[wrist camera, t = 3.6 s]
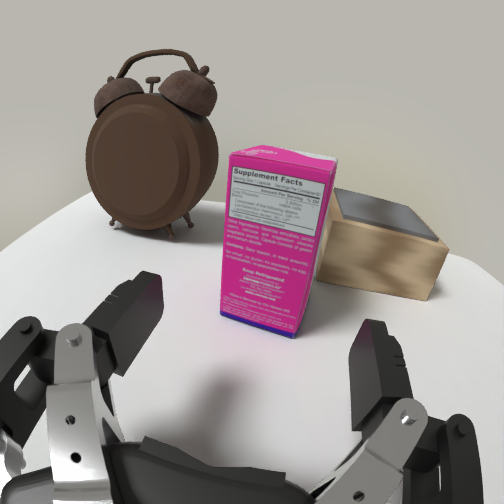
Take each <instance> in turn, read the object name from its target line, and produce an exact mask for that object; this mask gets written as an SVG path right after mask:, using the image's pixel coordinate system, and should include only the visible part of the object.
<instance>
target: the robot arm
mask: <svg viewBox="0 0 504 504" xmlns="http://www.w3.org/2000/svg"><path fill="white" fill-rule="evenodd" d="M163 310H164V301H163V289H162V278H161V276H160V275H158V274H154V273H150V272H146V271H141V272H140V273H139V274H138V275H137V276H136V277H135V278H134V279H133V281H132V280H128V281H126V282H124V283H122V284H120V285H118V286H117V287H116V288H115V289H114V290H113V291H112V292H111V295H108V297H107V298H106V299H105V301H103V302H102V303H101V304H100V305H99V306H98V307H97V308H96V309H95V310H94V311H93V313H92V314H91V315H90V316H89V317H88V318H87V319H86V320H85V321H84V322H83V323H82V324H79V323H74V324H70V325H67V326H65V327H63V328H62V329H61V330H60V331H53V330H47V329H43V327H42V325H41V322H40V321H39V319H37V318H36V317H32V316H28V317H24V318H21V319H20V320H18V321H17V322H16V323H15V324H14V325H13V326H12V327H11V328H10V329H9V331H8V332H7V333H6V334H5V335H4V336H3V337H2V338H1V340H0V504H385V503H386V501H387V500H388V499H389V497H390V496H391V495H392V493H393V492H394V490H395V489H396V487H397V486H398V484H399V483H400V481H401V480H402V478H403V500H402V504H484V500H483V484H482V473H481V465H480V457H479V451H478V445H477V439H476V434H475V429H474V425H473V423H472V422H471V420H470V419H469V418H468V417H466V416H465V415H463V414H455V415H453V416H451V417H450V418H449V419H448V420H447V421H443V420H440V419H437V418H433V417H430V416H428V415H427V411H426V409H425V408H424V406H423V405H422V404H421V403H420V402H418V401H417V400H414V398H413V394H412V389H411V385H410V380H409V376H408V372H407V368H406V367H405V366H406V364H405V360H404V359H403V357H404V356H403V353H402V349H401V346H400V344H399V343H398V341H397V340H396V339H395V337H394V336H390V335H388V331H387V327H386V324H385V322H384V321H378V320H372V319H365V320H364V322H363V324H362V326H361V328H360V330H359V332H358V334H357V336H356V338H355V340H354V342H353V344H352V346H351V349H350V352H349V375H350V392H351V418H352V431H362V438H361V439H360V440H359V441H358V443H357V444H356V445H355V446H354V447H353V449H352V450H351V451H350V452H349V453H348V454H347V455H346V457H345V458H344V459H343V460H342V461H341V462H340V463H339V464H338V465H337V466H336V467H335V469H334V470H333V471H332V472H331V473H330V474H329V475H328V476H326V477H325V478H324V479H323V480H322V481H321V482H320V483H318V484H317V485H316V486H315V487H314V488H313V489H312V490H311V491H310V492H306V491H305V490H304V489H302V488H301V487H299V486H298V485H296V484H294V483H292V482H290V481H287V480H285V476H286V473H285V472H277V471H270V470H264V469H258V468H253V467H212V466H209V465H206V464H205V463H203V462H201V461H199V460H197V459H195V458H194V457H192V456H190V455H188V454H187V453H185V452H183V451H182V450H180V449H178V448H176V447H173V446H170V445H167V444H165V443H162V442H159V441H157V440H154V439H152V438H149V437H147V436H145V437H144V439H143V441H142V443H141V442H125V439H124V436H123V433H122V431H121V428H120V426H119V423H118V419H117V414H116V410H115V405H114V399H113V394H112V388H111V382H110V379H109V378H110V377H111V375H112V374H113V373H115V374H118V375H120V376H122V377H123V376H124V374H125V373H126V371H127V370H128V368H129V367H130V365H131V363H132V362H133V360H134V359H135V357H136V356H137V354H138V353H139V351H140V349H141V348H142V346H143V345H144V343H145V342H146V340H147V339H148V337H149V336H150V334H151V333H152V331H153V330H154V328H155V327H156V325H157V324H158V322H159V321H160V319H161V317H162V314H163ZM27 364H28V365H29V367H30V368H31V370H30V371H29V372H28V374H27V375H26V376H25V378H24V379H23V381H22V382H21V384H20V385H19V386H18V388H17V389H16V391H14V383H15V381H16V379H17V378H18V376H19V375H20V374H21V372H22V371H23V370H24V368H25V367H26V366H27ZM45 409H47V429H48V441H49V450H50V458H51V465H52V466H50V467H47V468H43V469H40V470H37V471H33V472H30V473H26V474H22V475H21V469H24V468H25V467H26V461H25V459H24V458H23V451H22V449H23V447H24V445H25V443H26V442H27V440H28V438H29V436H30V434H31V433H32V431H33V429H34V427H35V426H36V424H37V422H38V421H39V419H40V417H41V415H42V414H43V412H44V410H45ZM439 466H440V471H441V490H440V485H439ZM402 468H403V472H402V471H401V469H402Z"/></svg>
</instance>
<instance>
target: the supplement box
mask: <svg viewBox="0 0 504 504" xmlns="http://www.w3.org/2000/svg"><path fill="white" fill-rule="evenodd" d="M337 163H338V159H337V158H334V157H329V156H323V155H318V154H312V153H306V152H301V151H296V150H290V149H285V148H279V147H273V146H266V145H260V146H256V147H252V148H248V149H244V150H241V151H236V152H233V153H230V155H229V169H228V182H227V195H226V210H225V224H224V240H223V259H222V277H221V299H220V314H221V315H223V316H226V317H229V318H231V319H234V320H237V321H240V322H243V323H246V324H249V325H252V326H255V327H258V328H261V329H264V330H267V331H270V332H274V333H277V334H280V335H283V336H285V337H289V338H291V339H294V338H295V336H296V334H297V331H298V329H299V326H300V323H301V321H302V318H303V314H304V311H305V308H306V305H307V301H308V298H309V294H310V290H311V286H312V281H313V277H314V273H315V269H316V265H317V261H318V256H319V252H320V248H321V243H322V239H323V234H324V229H325V225H326V220H327V215H328V210H329V205H330V200H331V195H332V190H333V184H334V179H335V174H336V168H337Z"/></svg>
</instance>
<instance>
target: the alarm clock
mask: <svg viewBox="0 0 504 504" xmlns="http://www.w3.org/2000/svg"><path fill="white" fill-rule="evenodd" d="M158 55H177V56H181V57H184V59H185V60H186V62H187V64H188V66H189V67H190V69H191V71H188V70H182V71H177V72H175V73H173V74H171V75H170V76H169V77H168V78H166V80H165V81H164V82H163V83H162V84H161V86H160V87H159V88H158V90H159V92H160V93H153V85H154V83H158V82H160V77H148V78H146V83H148V84H149V83H150V91H149V93H144V91H143V89H142V87H141V86H140V84H138V83H137V82H136V81H135V80H133V79H131V78H124V76H125V75H126V73H127V72H128V70H129V69H130V67H131V66H132V64H133V63H135V62H136V61H138V60H141V59H143V58H146V57H151V56H158ZM208 72H209V67H208V66H203V67H201V69H200V70H198V68H197V65H196V64H195V62H194V60H193V58H192V57H191V56H190V55H189V54H188V53H186V52H183V51H178V50H173V49H161V50H152V51H146V52H142V53H139V54H137V55H134V56H133V57H130V58H129V59H128V60H127V61H126V62H125V63H124V65H123V67H122V68H121V70H120V72H119V73H118V76H117V77H116V79H114V77H112V76H110V77H108V80H107V82H108V83H107V84H105V85H104V86H103V87H102V88H101V89H100V90H99V91H98V93H97V95H96V96H95V99H94V110H95V115H96V118H98V119H97V120H96V122H95V124H94V126H93V127H92V130H91V132H90V135H89V138H88V142H87V148H86V170H87V176H88V180H89V183H90V186H91V189H92V191H93V193H94V195H95V197H96V199H97V201H98V202H99V203H100V205H101V206H102V207H103V209H104V210H105V211H106V212H107V213H108V214H109V215H110V216H111V217H112V220H111V221H110V222H109V224H110V226H114V224H115V223H114V222H115V221H116V220H117V221H118V222H120V223H122V224H124V225H126V226H128V227H131V228H135V229H141V230H152V229H157V228H161V227H164V226H165V228H166V229H167V231H168V233H169V234H170V235H169V237H170V238H171V239H173V238H174V237H175V234H174V233H173V232H172V227H171V222H173V221H175V220H177V219H178V218H180V217H182V216H183V217H184V219H185V220H186V222H187V223H188V227H189V228H192V227H193V226H194V224H193V223H192V222H191V220H190V216H189V213H188V212H189V211H190V210H191V209H192V208H193V207H194V206H195V205H196V204H197V203H198V202H199V201H200V200H201V198H202V197H203V196H204V195H205V193H206V192H207V190H208V189H209V187H210V186H211V184H212V182H213V179H214V177H215V174H216V171H217V166H218V155H219V154H218V143H217V139H216V135H215V132H214V130H213V128H212V126H211V124H210V122H209V120H208V119H207V118H206V116H209V115H210V114H211V112H212V110H213V108H214V106H215V103H216V100H217V91H216V88H215V86H214V85H213V84H215V82H213V81H212V80H210V79H208V78H207V77H205V76H206V75H207V74H208Z"/></svg>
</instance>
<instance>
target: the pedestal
mask: <svg viewBox="0 0 504 504" xmlns="http://www.w3.org/2000/svg"><path fill="white" fill-rule="evenodd" d="M448 251H449V248H448V247H447V246H446V245H445V244H444V243H443V242H442V240H441V239H440V238H439V237H438V236H437V235H436V234H435V233H434V232H433V231H432V229H430V227H429V226H428V225H427V224H426V223H425V222H424V221H423V220H422V219H421V218H420V217H419V216H418V215H417V214H416V213H415V212H414V211H413V210H412V209H411V208H409V207H408V206H405V205H401V204H398V203H394V202H391V201H387V200H384V199H379V198H375V197H372V196H368V195H364V194H360V193H356V192H352V191H348V190H343V189H338V188H334V189H333V190H332V195H331V200H330V205H329V210H328V215H327V220H326V225H325V229H324V234H323V239H322V243H321V248H320V252H319V256H318V261H317V265H316V270H317V281H322V282H327V283H332V284H337V285H342V286H347V287H353V288H358V289H363V290H368V291H374V292H379V293H384V294H390V295H395V296H400V297H406V298H411V299H417V300H423V301H426V300H427V298H428V296H429V294H430V292H431V290H432V288H433V286H434V284H435V281H436V279H437V277H438V275H439V273H440V270H441V268H442V266H443V263H444V261H445V259H446V256H447V254H448Z"/></svg>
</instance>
